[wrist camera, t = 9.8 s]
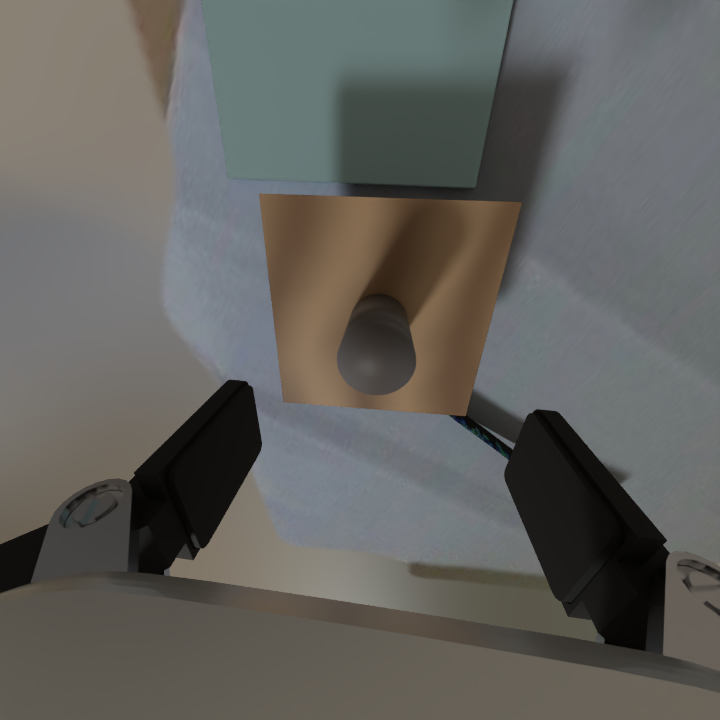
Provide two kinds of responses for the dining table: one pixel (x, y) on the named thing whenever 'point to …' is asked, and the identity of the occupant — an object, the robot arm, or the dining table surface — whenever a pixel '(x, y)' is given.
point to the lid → (383, 297)
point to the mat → (356, 88)
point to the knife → (483, 435)
